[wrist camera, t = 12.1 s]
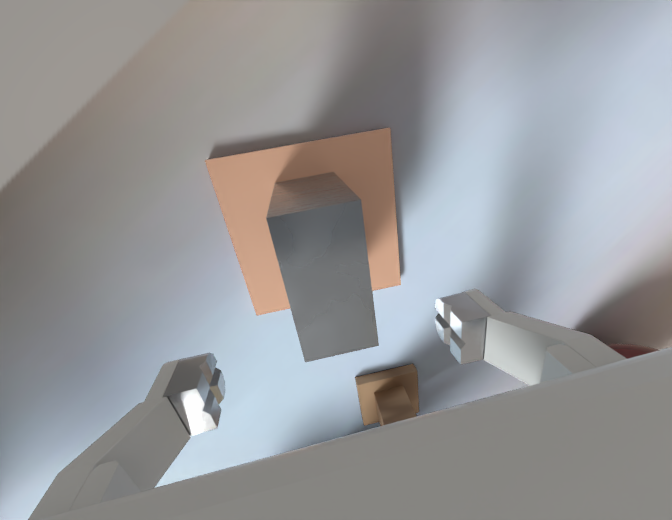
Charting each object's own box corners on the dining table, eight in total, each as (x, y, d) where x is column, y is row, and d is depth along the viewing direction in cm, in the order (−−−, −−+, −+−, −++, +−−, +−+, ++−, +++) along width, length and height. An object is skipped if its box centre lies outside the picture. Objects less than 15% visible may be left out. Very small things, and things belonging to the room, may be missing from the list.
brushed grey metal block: (274, 182, 19) (266, 218, 12) (333, 171, 20) (360, 199, 12) (299, 285, 23) (305, 362, 15) (349, 274, 23) (378, 345, 16)
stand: (362, 417, 32) (423, 661, 17) (341, 297, 25) (413, 533, 10) (415, 404, 32) (519, 632, 18) (409, 282, 25) (568, 490, 11)
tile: (257, 309, 24) (256, 315, 23) (208, 159, 19) (204, 160, 18) (397, 280, 25) (400, 284, 24) (386, 127, 20) (390, 127, 19)
